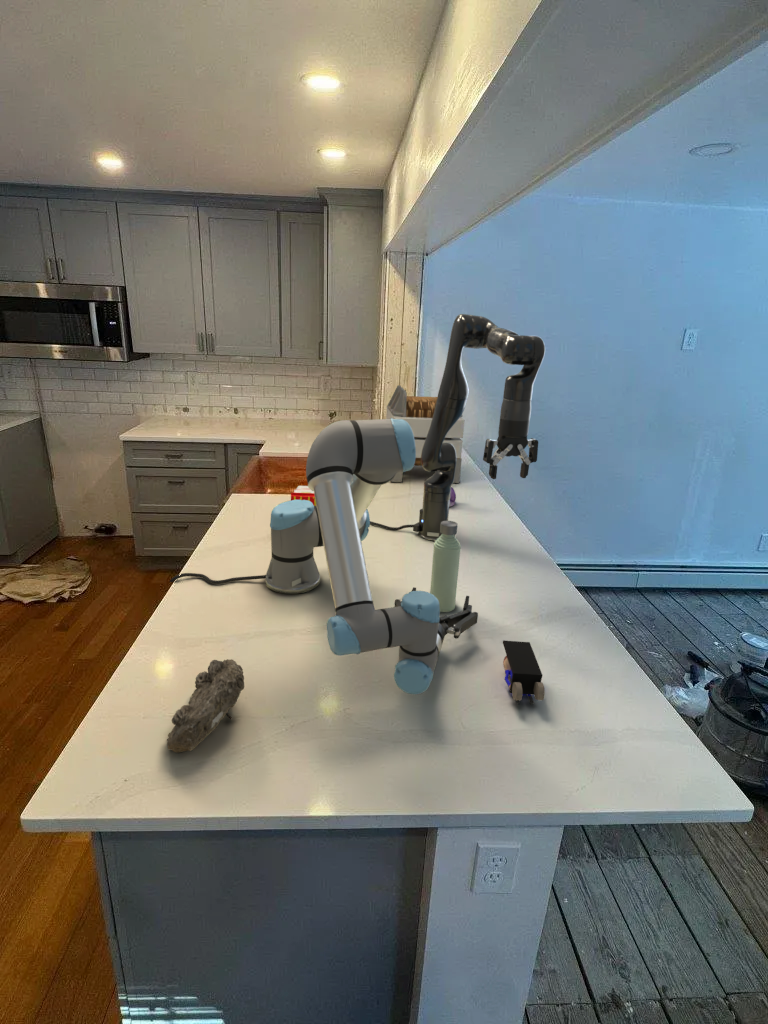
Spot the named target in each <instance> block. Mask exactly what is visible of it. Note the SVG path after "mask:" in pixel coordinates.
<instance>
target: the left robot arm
mask: <svg viewBox="0 0 768 1024" xmlns="http://www.w3.org/2000/svg"><path fill="white" fill-rule="evenodd" d="M415 458H416V447H415V439H414V435H413V431H412V429H411V427H410V425H409V423H408V422H406V421H405V420H402V419H393V418H390V419H386V418H382V419H381V418H379V419H377V418H376V419H353V420H349V419H342V420H338V421H335V422H332V423H330V424H328V425H327V426H326V427H324V428H322V430H321V431H320V432H319V433H318V434H317V435H316V437H315V439H314V440H313V441H312V444H311V445H310V448H309V451H308V454H307V459H306V465H305V476H306V482H307V486H308V488H309V489H310V490H312V491H314V495H315V500H316V506H314V505H313V503H312V502H311V501H308V500H291V499H290V500H287V501H284V502H281V503H278V504H277V505H275V506H274V507H273V508H272V510H271V513H270V523H269V527H270V540H271V541H270V547H271V548H270V549H271V551H270V552H271V559H270V561H269V565H268V568H267V569H266V574H262V575H248V576H238V577H237V576H236V577H231V578H226V579H225V578H224V579H220V580H213V579H211V578H210V577H208V576H207V575H205V574H202V573H196V572H185V573H184V572H183V573H178V574H177V575H174V576H173V577H171V579H170V580H169V583H174V582H175V581H177V580H178V579H181V578H184V577H185V578H186V577H194V578H201V579H204V580H205V581H206V582H207V583H209V584H212V585H223V584H227V583H232V582H238V581H239V582H240V581H251V580H263V579H264V580H265V585H266V587H267V588H268V589H269V590H271V591H273V592H276V593H280V594H284V595H285V594H287V595H294V594H295V595H296V594H304V593H307V592H310V591H312V590H314V589H315V588H317V587H319V585H320V583H321V574H320V571H319V569H318V566H317V563H316V560H315V557H314V548H318V547H319V548H320V547H323V550H324V555H325V561H326V567H327V572H328V577H329V582H330V588H331V593H332V600H333V605H334V612H335V615H333V616H330V617H329V618H328V619H327V622H326V636H327V637H326V638H327V642H328V646H329V649H330V651H331V652H332V654H334V655H336V656H338V657H342V656H348V655H349V656H350V655H360V654H361V653H367V652H373V651H378V650H383V649H389V648H395V647H398V658H397V659H398V660H397V662H396V664H395V665H394V667H395V668H394V672H393V680H394V683H395V685H396V687H398V688H399V690H401V691H402V692H404V693H406V694H409V695H420V694H423V693H424V692H426V691H427V690H428V689H429V687H430V685H431V683H432V681H433V680H434V672H435V669H436V667H437V663H438V659H439V657H440V653H441V649H442V646H443V643H444V639H445V636H447V635H448V634H449V635H453V639H454V638H455V639H459V638H460V637H461V634H463V633H464V632H466V631H467V630H468V629H470V628H471V627H473V626H475V625H476V624H477V623H478V618H479V612H477V611H472V610H473V605H472V604H469V602H470V595H466V596H465V599H464V603H463V607H462V610H461V611H458V612H456V613H453V614H450V615H447V614H445V615H442V616H440V613H441V612H440V608H439V601H438V599H437V598H436V597H435V596H434V595H433V594H431V593H430V592H428V591H424V590H417V587H415V586H414V587H412V589H411V591H409V592H408V593H405V594H404V595H403V596H402V598H401V600H400V599H395V600H394V606H392V607H391V606H390V607H385V608H379V609H375V604H374V599H373V594H372V588H371V584H370V579H369V572H368V569H367V568H368V567H367V564H366V558H365V554H364V553H365V552H364V547H363V543H362V541H363V542H364V540H365V539H366V538H367V537H368V534H369V531H370V530H369V529H370V526H371V524H370V521H371V519H370V518H371V517H370V513H369V510H368V508H369V506H370V505H371V503H372V502H373V500H374V499H375V496H376V495H377V493H378V492H379V490H380V488H381V486H383V485H386V484H388V483H390V482H391V480H392V479H393V477H394V476H395V474H396V473H397V472H399V471H403V473H406V472H410V471H411V470H412V469H413V468H414V467H415V466H414V464H415ZM180 574H181V575H180ZM179 575H180V576H179Z"/></svg>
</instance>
